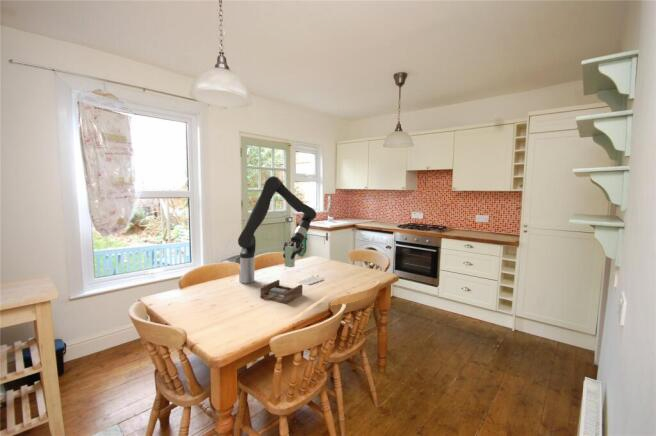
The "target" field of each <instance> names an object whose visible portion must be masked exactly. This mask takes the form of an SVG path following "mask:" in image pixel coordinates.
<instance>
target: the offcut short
mask: <svg viewBox="0 0 656 436" xmlns="http://www.w3.org/2000/svg"><path fill="white" fill-rule="evenodd" d="M285 292H287V290H285V289H280V288H272V289H270V293H272V294H278V295H283V296H284V293H285Z"/></svg>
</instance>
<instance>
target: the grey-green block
mask: <svg viewBox="0 0 656 436" xmlns="http://www.w3.org/2000/svg"><path fill="white" fill-rule="evenodd" d="M294 248H295V247H292V246H286V247H285V251H284V252H285V258H284V267H288V268H294V267H295V266H296V265H295V263H296V262H295V257H296V256H295V257H294V259H291V255H292V253H293V252H294Z"/></svg>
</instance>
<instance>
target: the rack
mask: <svg viewBox="0 0 656 436" xmlns="http://www.w3.org/2000/svg"><path fill="white" fill-rule="evenodd" d="M280 283H281V281H280V279H277V280H275V281H273V282H270V283H267V284H265V285H263V286H261V287H260V289H259V291H260V292H259V293H260V296H259V297H260V299H264V300H268V301H271V302H276V303H280V304H283V305H288V304H289V303H291V302H292V301H294V300H296V299H298V298H300V297H301V296H303V284H299V285H297V286H295V287H290V286H289V287H288V286H284V285H280ZM272 288H280V289H285V290H287V292H285V293H284V299H283V298H278V297H274V296H270V295H268V293H269V292H270V289H272Z"/></svg>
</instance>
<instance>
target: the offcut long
mask: <svg viewBox="0 0 656 436" xmlns="http://www.w3.org/2000/svg"><path fill="white" fill-rule="evenodd" d="M268 295H270V296H274V297H278V298H283V299H284V296H283V295H278V294H272V293H270V292H269V293H268Z"/></svg>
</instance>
